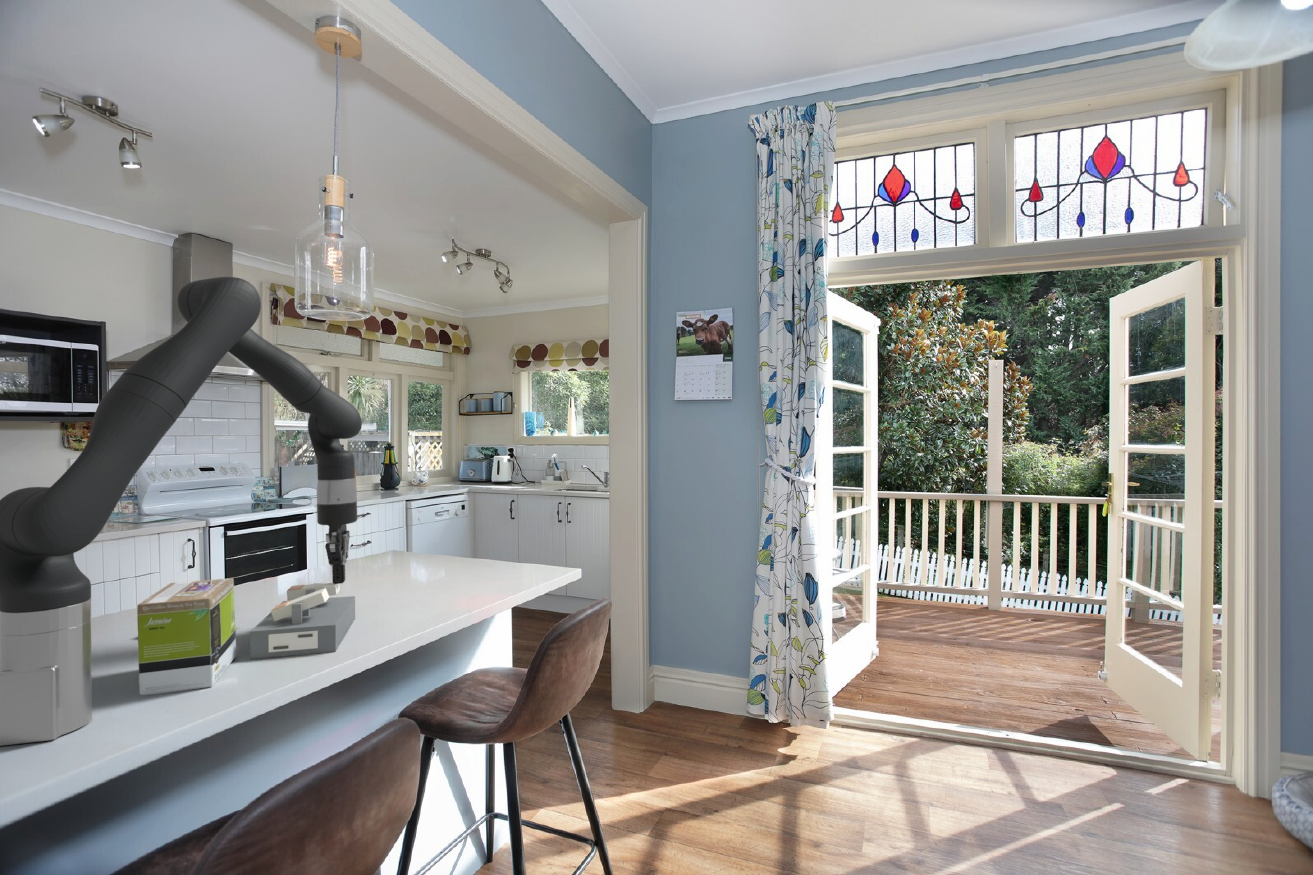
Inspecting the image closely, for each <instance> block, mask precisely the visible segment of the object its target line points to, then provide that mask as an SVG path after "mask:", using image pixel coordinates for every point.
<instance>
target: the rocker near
mask: <svg viewBox="0 0 1313 875" xmlns="http://www.w3.org/2000/svg"><path fill="white" fill-rule="evenodd" d="M328 598H330V596H329V595H328V592H327V590H326V588H324V589H321V590H318V591H316V592H313V593H310V594H308V595H305V596H302V597H300V598H297V599H294V600H292V601H287V600H286V601H287V602H285V603H282V602H281V603H282V604H281V603H279V604H277V605H275V606H274V607H273V608H272V609H271V610H270V613H272V616H273V618H274V621H277V620H280V619H282V618H285V617H287V616H290V615H292V604H296V603H302V611H303V610H306V609H309V608H311V607H314V606H317V605H319V604H322V603H325V602H326V601H327V599H328Z"/></svg>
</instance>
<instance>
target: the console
mask: <svg viewBox="0 0 1313 875" xmlns="http://www.w3.org/2000/svg"><path fill="white" fill-rule="evenodd" d="M318 583H319V582H318ZM318 583H314V584H318ZM313 592H315V590H306V595H308V594H310V593H313ZM300 597H302V596H300ZM290 601H292V600H290ZM285 602H287V600H282V602H281V603H280V604H282V603H285ZM355 620H356V596H355V595H351V596H350V595H349V596H338V597H329V598H328V599H327V601H326V602H325V603H322V604H319V605H317V606H314V607H311V608H309V609H306V610H303V611H302V603H296V604H292V615H290V616H287V617H285V618H282V619H280V620H277V621H274V618H273V616H272V613H271V612H269V614H267V616H265V617H264V618H263V619H261V621H260V622H258V624H256V625H255V626H254V627H253V628H252V629H251V630H250V631H249V659H250V660H255V659H267V658H277V657H280V658H281V657H289V656H301V655H312V654H313V655H314V654H324V653H335V652H337V650H338V649H339V647H340V645H341V644H342V642H343V640H344V638H345V637H346V635H347V634H348V632H349V630H350V628H351V626H352V625H353V624H354V621H355Z"/></svg>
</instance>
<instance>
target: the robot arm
mask: <svg viewBox="0 0 1313 875" xmlns="http://www.w3.org/2000/svg"><path fill="white" fill-rule="evenodd" d="M176 300H177V308H178V310H179V312H180V314H181V317H183V319H184V320H185V321H186V322H187V323H186V324H185V325H184V326H183V327H182V328H181V329H179V331H178V332H177V333H175V334H174V335H173V336H171V337H170V338H168V339H167V340H166V341H164V342H163V343H161V344H159V345H158V346H156V347H155V348H153V349H151V350H150V351H149V352H146V353H145V354H144V355H143V356H142V357H140V358H139V359H138V360H136V361H135V362H134V363H132V364H131V365H130V366H129V367H128V368H127V369H126V370H125V371H124V372H123V373H122V374H121V375H120V376H119V378H117V380H116V381H115V382H114V383H113V384H112V386H111V387H110V388H109V389H108V391H106V393H105V394H104V396H103V397H102V398H101V400H100V401H99V404H98V405H97V408H96V411H95V413H94V416H93V419H92V420H93V421H92V423H91V428H90V432H89V437H88V438H87V439H88V440H87V441H86V444H85V446H84V448H83V450H82V452H80V454H79V455H78V456H77V458H76V459H75V461H74V462H73V463H72V464H71V465H70V466H69V467H68V468H67V469H66V471H65V472H64V473H63V474H62V475H60V477H59V478H58V480H56V481H55V482H54V483H53V484H52V485H51V486H50V487H49V486H48V487H47V486H30V487H29V486H28V487H23V488H20V489H17V490H14V491H11V492H9V493H8V494H6V495H5V496H4V497H1V499H0V746H9V745H10V746H11V745H19V744H29V743H36V742H44V741H53V740H57V738H59V737H60V736H63V735H66V734H69V733H71V732H73V731H75V730H78V729H80V728H82V727H84V726H86V725H87V724H88V723H90V721H92V717H93V716H92V713H93V712H92V711H93V708H92V707H93V706H92V705H93V704H92V703H93V702H92V700H93V698H92V697H93V696H92V695H93V691H92V690H93V689H92V688H93V686H92V682H93V681H92V673H93V672H92V583H91V581H90V579H89V577H88V576H86V575H85V573H83V571H81V570H80V568H79V567H78V566H77V563H76V561H75V556H74V554H75V553H77V552H79V551H81V550H83V549H84V548H86V547H87V546H89V545H90V544H91V543H92V542H93V541H94V540H95V539H96V538H97V537H98V536H99V534H100V533H101V532H102V530H103V529H104V526H105V525H106V523H107V522H108V520H109V519H110V516H111V515H112V513H113V512H114V511H115V508H116V507H117V505H118V503H119V502H120V500H121V498H122V496H123V495H124V492H125V490H126V489H127V488H128V486H129V485H130V483H131V481H132V480H133V478H134V477H135V475H136V474H137V472H138V471H139V470H140V469H141V467H142V465H144V464H145V462H146V461H147V459H148V458H149V457H150V455H151V454H152V453H153V451H154V450H155V448H156V447H157V446H158V444H159V443H160V441H161V440H162V439H163V438H164V436H165V435H166V434H167V432H168V431H169V430H170V429H171V428H172V426H173V425H174V424H176V421H177V420H178V419H179V417H180V416H181V415H182V414H183V412H184V411H185V410H186V408H187V407H188V405H189V403H190V402H191V400H192V399H193V397H194V396H195V395H196V393H197V392H198V391H199V390H200V388H201V386H203V385H204V383H205V382H206V381H207V379H208V378H209V377H210V375H211V374H212V372H213V371H214V369H215V368H216V367H217V365H218V364H219V362H220V361H221V360H222V359H223V358H224V357H225V355H227V353H229V354H231V355H232V356H233V357H235V358H237V359H238V360H239V361H240V362H242V363H243V364H244V365H245V366H247V367H249V369H251V370H252V371H254V372H255V373H256V374H257V375H258V376H259V377H260V378H262V379H263V380H264V381H265V382H267V383H268V384H269V385H270V386H271V387H272V388H273V389H274V390H275V391H277V393H279V395H280V396H281V397H283V398H284V399H285V400H286V401H287V403H289V404H290V405H291V406H292V407H293V408H294V409H296V410H297V411H298V412H301V413H304V414H309V415H308V420H307V432H308V435H309V438H310V441H311V446H312V449H313V452H314V455H315V457H316V460H317V463H316V464H317V465H316V466H317V468H316V469H317V486H316V515H317V517H316V519H317V521H316V522H317V524H318V525H320V526H328V532H327V533H326V534H325V542H326V543H325V546H324V547H325V551H326V556H327V559H328V564H329V565H330V566H331V567H332V568H331V569H332V570H331V572H332V573H331V574H332V582H333V583H334V584H339V585H340V584H344V583H345V581H346V563H347V559H348V558H349V548H350V547H349V546H350V538H351V534H350V531H351V530H348V529H347V525H349V524H354V523H356V522H357V521H358V497H357V496H358V493H357V492H358V491H357V485H356V483H357V482H356V478H355V477H356V471H355V470H356V469H355V462H356V461H355V455H354V453H352V452H351V451H350V450H349V451H348V450H346V449H343V448H342V445H341V442H340V440H346V439H351V438H355V437H356V436H357V435H359V433H360V432H361V430H362V428H363V427H362V426H363V419H362V417H361V414H360V412H359V411H358V410H357V408H356V407H355V406H354V405H353V404H352V403H350V401H348V400H346V399H345V398H344V397H342V396H341V395H339V394H338V393H336V392H335V391H333V390H332V389H330V388H328V387H326V386H325V384H323V383H322V381H321V380H320V379H319V378H317V376H316V375H314V373H313V372H312V371H311V370H310V368H308V367H307V366H306V365H305V364H304V363H302V362H301V361H300V360H299V359H298V358H296V357H294V356H293V355H291V354H290V353H288V352H287V351H284V350H283V349H281V348H279V347H277V346H276V345H274V344H273V343H272V342H269V341H268V340H266V339H265V338H263V337H262V336H261V335H259V334H258V333H256V331H254V330H253V329H252V327H253V326H254V324H255V323H257V320H258V318H259V316H260V314H261V308H262V305H261V304H262V301H261V297H260V294H259V291H258V290H257V288H256V286H254V284H252V283H251V282H249V281H247V280H245V279H244V278H239V277H235V276H219V277H211V278H204V279H198V280H195V281H191V282H189V283H187V284H185V285H183V287H182V288H180V291H179V293H178V295H177V299H176Z"/></svg>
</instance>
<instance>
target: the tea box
mask: <svg viewBox="0 0 1313 875" xmlns="http://www.w3.org/2000/svg"><path fill="white" fill-rule="evenodd" d="M136 619H137V622H136V623H137V647H138V648H137V649H138V655H137V656H138V688H139V689H138V690H139V695H140V696H141V697H142V696H150V695H158V694H160V695H161V694H168V693H173V692H183V691H191V690H192V691H193V690H198V689H205V688H211V687H213V686H214V684H215V683H216V682H217V680H219V679H220V677H221V675H222V674H223V673H224V672H225V670H226V669H227V668H228V667H229V665H230V664H231V663H232V661H233V660H234V659H235V658H236V656H237V640H236V637H237V636H236V630H235V627H236V610H235V580H234V578H233V577H230V578H220V579H218V578H217V579H206V580H205V579H204V580H193V581H183V582H170V583H169V584H166V585H165V587H162V588H161V589H160V590H158V591H156V592H155V593H154V594H152V595H150V596H149V597H148V598H146V599H144V600H143V601H142V602H139V603H138V604H137V617H136Z"/></svg>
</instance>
